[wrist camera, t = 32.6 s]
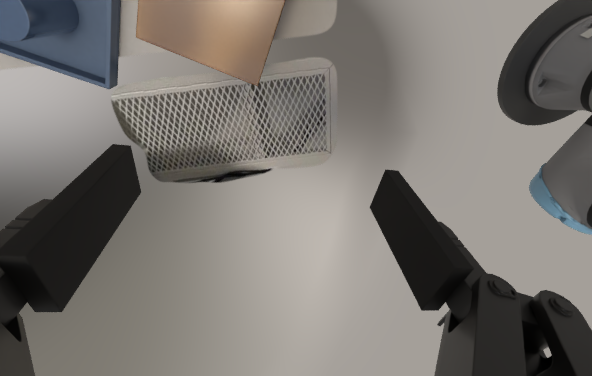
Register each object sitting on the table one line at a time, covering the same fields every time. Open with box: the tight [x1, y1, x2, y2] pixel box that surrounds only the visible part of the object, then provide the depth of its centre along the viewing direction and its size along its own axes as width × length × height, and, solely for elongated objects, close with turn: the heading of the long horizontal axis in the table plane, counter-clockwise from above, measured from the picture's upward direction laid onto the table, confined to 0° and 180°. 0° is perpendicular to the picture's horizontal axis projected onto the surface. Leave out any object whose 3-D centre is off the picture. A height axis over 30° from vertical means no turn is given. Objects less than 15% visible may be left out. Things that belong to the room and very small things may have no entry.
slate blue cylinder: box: [0, 0, 79, 42], centre depth 30 cm, size 6×6×9 cm
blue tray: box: [0, 0, 120, 89], centre depth 33 cm, size 15×15×2 cm
